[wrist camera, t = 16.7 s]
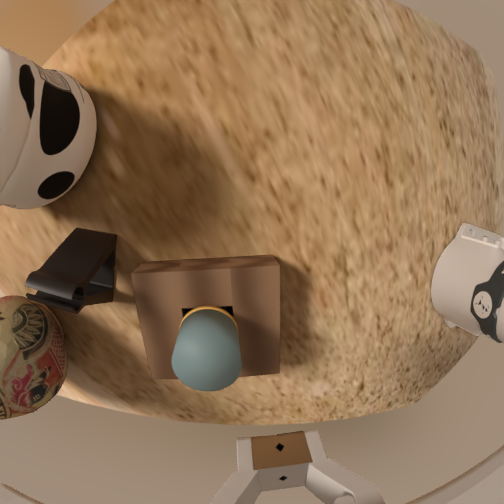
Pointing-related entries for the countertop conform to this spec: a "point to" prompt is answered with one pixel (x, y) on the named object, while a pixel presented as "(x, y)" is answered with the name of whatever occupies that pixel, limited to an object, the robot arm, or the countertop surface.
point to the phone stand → (77, 272)
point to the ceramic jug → (29, 356)
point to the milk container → (41, 132)
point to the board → (212, 294)
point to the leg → (207, 349)
